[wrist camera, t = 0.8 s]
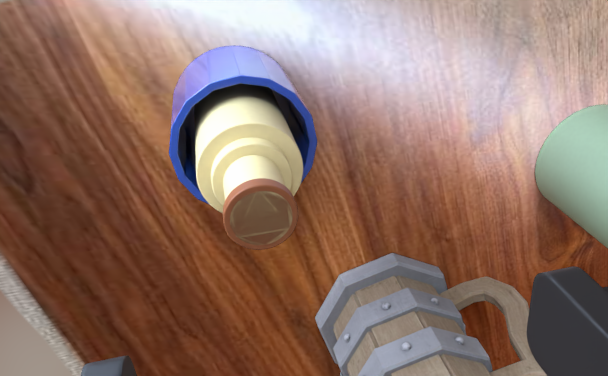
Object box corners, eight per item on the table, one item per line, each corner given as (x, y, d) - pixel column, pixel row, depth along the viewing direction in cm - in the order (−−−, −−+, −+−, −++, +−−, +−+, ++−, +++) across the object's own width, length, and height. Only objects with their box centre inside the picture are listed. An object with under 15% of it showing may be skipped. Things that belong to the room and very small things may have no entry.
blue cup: (178, 36, 37) (175, 66, 30) (304, 54, 39) (329, 86, 32) (168, 155, 41) (164, 206, 34) (283, 165, 43) (302, 215, 36)
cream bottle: (198, 63, 37) (204, 155, 23) (282, 74, 39) (334, 167, 25) (190, 142, 40) (191, 267, 26) (269, 149, 41) (310, 272, 27)
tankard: (342, 374, 55) (389, 519, 42) (301, 288, 49) (342, 426, 36) (520, 301, 55) (623, 423, 42) (502, 205, 49) (616, 313, 36)
